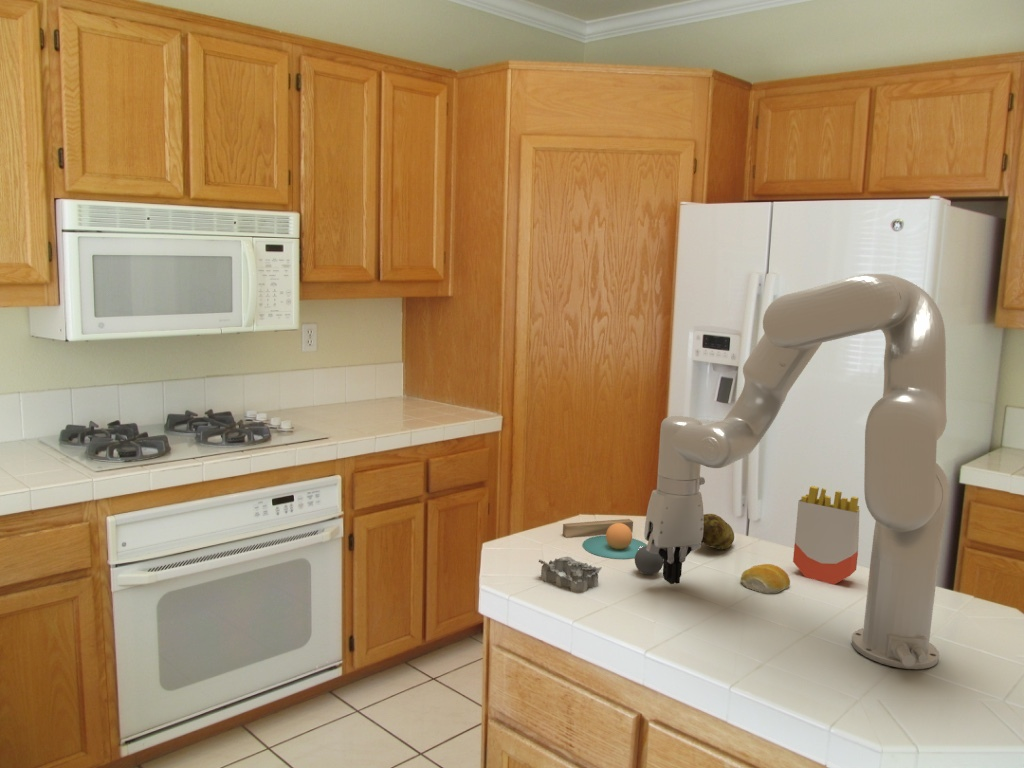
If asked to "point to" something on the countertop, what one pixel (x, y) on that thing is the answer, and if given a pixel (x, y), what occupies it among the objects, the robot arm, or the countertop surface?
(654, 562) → the dark gray ball
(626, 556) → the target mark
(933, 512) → the robot arm
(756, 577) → the bread roll
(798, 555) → the french fries container
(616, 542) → the object ball
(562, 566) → the egg carton
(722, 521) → the potato
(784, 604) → the countertop surface
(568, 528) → the wooden block
